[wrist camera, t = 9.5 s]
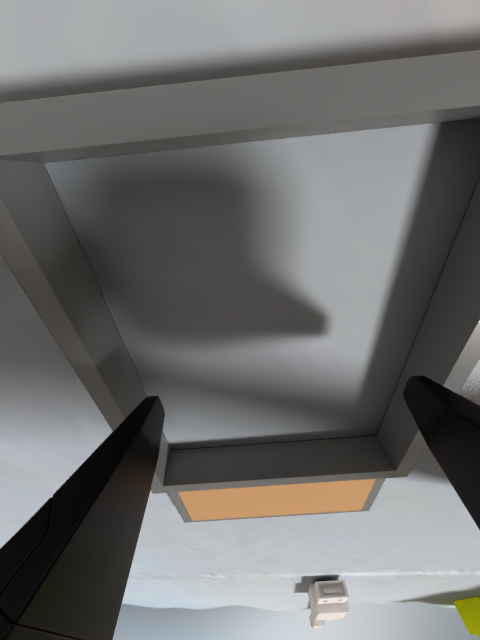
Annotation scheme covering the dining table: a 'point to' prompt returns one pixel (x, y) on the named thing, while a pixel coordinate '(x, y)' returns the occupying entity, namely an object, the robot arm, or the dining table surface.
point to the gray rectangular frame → (217, 129)
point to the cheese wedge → (470, 613)
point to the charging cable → (327, 601)
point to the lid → (277, 500)
